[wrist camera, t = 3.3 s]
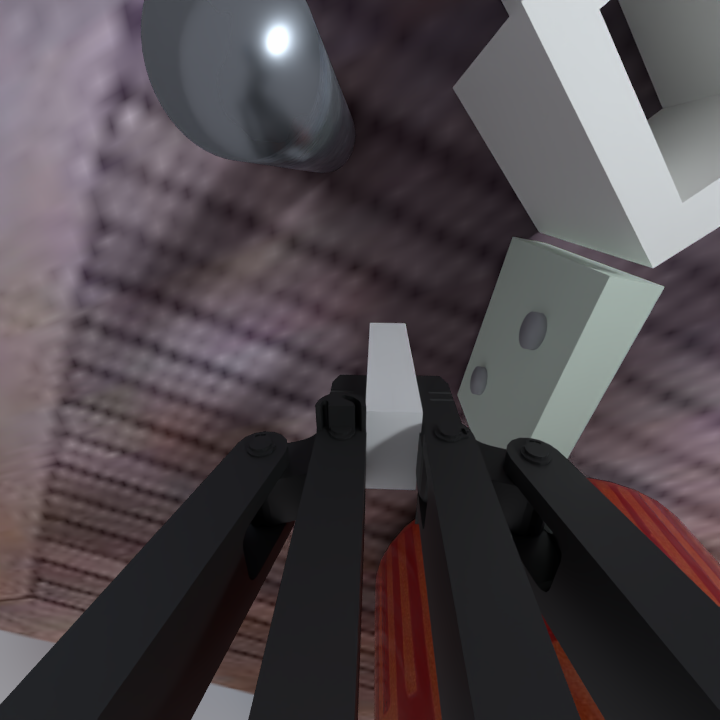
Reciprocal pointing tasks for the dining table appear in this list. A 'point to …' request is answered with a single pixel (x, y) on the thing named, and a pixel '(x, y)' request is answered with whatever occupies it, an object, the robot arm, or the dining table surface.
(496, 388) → the loose leaf
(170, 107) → the pin
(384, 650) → the planter
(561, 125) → the fixed hinge
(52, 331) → the dining table surface
